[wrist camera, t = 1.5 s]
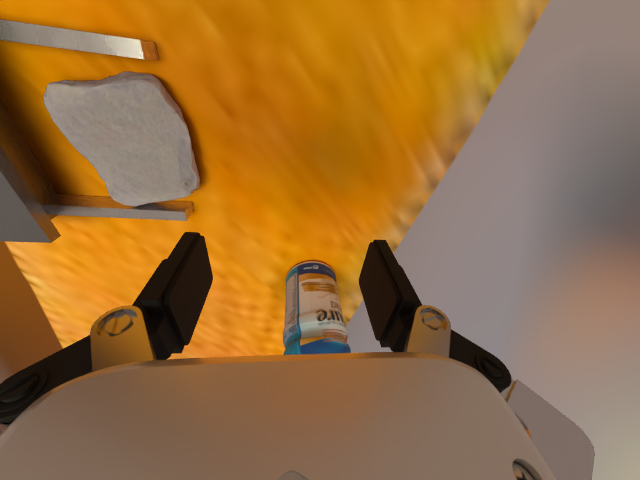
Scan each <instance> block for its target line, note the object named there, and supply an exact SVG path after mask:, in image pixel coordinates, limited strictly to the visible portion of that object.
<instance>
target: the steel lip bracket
mask: <svg viewBox="0 0 640 480" xmlns="http://www.w3.org/2000/svg"><path fill="white" fill-rule="evenodd" d="M0 40H5V41H12V42H20V43H27V44H35V45H42V46H49V47H57V48H64V49H71V50H79V51H86V52H94V53H101V54H108V55H116V56H123V57H131V58H138V59H147V60H159V58H158V54H157V49H156V45H155V42H150V41H144V40H138V39H131V38H124V37H117V36H110V35H103V34H96V33H90V32H83V31H76V30H69V29H62V28H55V27H49V26H42V25H35V24H28V23H21V22H14V21H7V20H1V19H0ZM193 211H194V208H193V204H192V202H186V201H169V200H168V201H160V202H153V203H146V204H144V205H138V206H129V205H124V204H121V203H119V202H117V201H115V200H113V198H112V197H99V196H81V195H64V194H57V193H56V191H55V189H54V188H53V186H52V184H51V183H50V181H49V179H48V178H47V176H46V174H45V173H44V171H43V169H42V168H41V166H40V164H39V163H38V161H37V159H36V158H35V156H34V154H33V153H32V151H31V149H30V148H29V146H28V144H27V143H26V141H25V139H24V138H23V136H22V134H21V133H20V131H19V129H18V128H17V126H16V124H15V123H14V121H13V119H12V118H11V116H10V114H9V113H8V111H7V109H6V108H5V106H4V104H3V103H2V101H1V99H0V241H13V242H45V243H52V242H53V241H54V240H56V239H57V238H58V237H60V236H61V235H60V234H59V232H58V231H57V229H56V228H55V226H54V225H53V223H52V222H51V219H52V218H54V217H55V216H57V215H72V216H94V217H115V218H137V219H159V220H180V221H187V220H188V218H189V217H190V215H191V214H192V212H193Z"/></svg>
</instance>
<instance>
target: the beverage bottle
mask: <svg viewBox="0 0 640 480" xmlns="http://www.w3.org/2000/svg"><path fill="white" fill-rule="evenodd" d="M347 338H348V333H347V326H346V324H345V322H344V320H343V315H342V311H341V306H340V301H339V296H338V291H337V284H336V277H335V273H334V271H333V270H332V269H331V268H330V267H329V266H328V265H326V264H324V263H322V262H317V261H307V262H303V263H300V264H298V265H296V266H294V267H293V268H292V269H291V270H290V271H289V273H288V274H287V277H286V303H285V326H284V331H283V343H284V346H285V348H286V350H285V352H284V355H298V354H332V353H351V352H350V347H349V345H348V344H347V343H346V342H347Z"/></svg>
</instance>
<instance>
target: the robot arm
mask: <svg viewBox="0 0 640 480" xmlns="http://www.w3.org/2000/svg"><path fill="white" fill-rule="evenodd" d="M212 280H213V275H212V271H211V266H210V261H209V257H208V252H207V248H206V243H205V238H204V236H200V234H199V233H197V232H185V233H184V234H183V236H182V237H181V239H180V240H179V242H178V243H177V245H176V246H175V248H174V249H173V251H172V252H171V254H170V255H169V257H168V259H164V260H163V261H162V262H161V263H160V265H159V266H158V268H157V269H156V271H155V272H154V274H153V275H152V277H151V278H150V280H149V281H148V283H147V284H146V286H145V287H144V289H143V290H142V291H141V293H140V294H139V296H138V297H137V299H136V300H135V302H134V303H133V305H132V306H130V305H129V306H121V307H117V308H114V309H112V310H110V311H108V312H106V313H105V314H103V315H102V316H100V317H99V318H98V319H97V320H96V321H95V322H94V324H93V325H92V327H91V331H90V335H89V336H87V337H85V338H83V339H81V340H79V341H77V342H76V343H74V344H72V345H70V346H68V347H66V348H64V349H62V350H60V351H58V352H56V353H54V354H52V355H50V356H48V357H47V358H44V359H43V360H41V361H39V362H37V363H35V364H33V365H31V366H29V367H27V368H25V369H23V370H21V371H19V372H17V373H16V374H14V375H13V376H11V377H9V378H7V379H6V380H5V381H3V382H2V383H1V384H0V480H592V472H593V464H594V456H595V454H594V447H593V445H592V444H591V441H590V440H589V438H588V437H587V436H586V435H585V433H584V432H583V431H582V430H581V429H580V428H579V427H578V426H577V425H576V424H575V423H574V422H573V421H571V420H570V419H569V418H567V417H566V416H565V415H563V414H562V413H561V412H559V411H558V410H557V409H555V408H554V407H553V406H552V405H550V404H549V403H548V402H546V401H545V400H544V399H543V398H541V397H540V396H539V395H537V394H536V393H535V392H533V391H532V390H531V389H530V388H528V387H527V386H526V385H524V384H523V383H522V382H521V381H519V380H518V379H517V380H516V381H514V380H513V379H512V378H511V375H510V373H509V370H508V369H507V368H506V366H505V365H504V364H503V363H502V362H501V361H500V360H499V359H498V358H497V357H495V356H494V355H492V354H491V353H489V352H487V351H486V350H484V349H482V348H481V347H479V346H477V345H476V344H474V343H472V342H471V341H469V340H468V339H466V338H464V337H463V336H461V335H460V334H458V333H456V332H455V331H453V330H451V324H450V321H449V319H448V318H447V316H446V315H445V314H444V313H443V312H442V311H441V310H439V309H437V308H435V307H433V306H430V305H422V304H421V302H420V300H419V298H418V296H417V294H416V293H415V291H414V289H413V287H412V285H411V283H410V281H409V279H408V278H407V276H406V274H405V272H404V270H403V268H402V267H401V266H400V265H399V264H398V262H397V260H396V259H395V257H394V255H393V253H392V251H391V249H390V247H389V245H388V243H387V242H386V240H374V241H373V242H371V243H370V244H369V247H368V251H367V254H366V257H365V261H364V264H363V267H362V270H361V274H360V277H359V285H360V289H361V292H362V295H363V299H364V302H365V305H366V308H367V312H368V315H369V318H370V322H371V325H372V328H373V331H374V335H375V338H376V340H377V341H378V340H379V341H380V344H381V347H390V349H391V350H392V351H393V352H371V353H332V354H298V355H267V356H239V357H211V358H188V359H169V360H166V359H168V358H169V357H170V356H171V354H172V353H182V351H183V348H184V345H188V344H189V342H190V340H191V337H192V335H193V332H194V329H195V327H196V324H197V321H198V319H199V316H200V313H201V311H202V308H203V305H204V303H205V300H206V297H207V295H208V292H209V289H210V287H211V284H212Z"/></svg>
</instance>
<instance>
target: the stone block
mask: <svg viewBox="0 0 640 480" xmlns="http://www.w3.org/2000/svg"><path fill="white" fill-rule="evenodd" d="M43 99H44V104H45V106H46V108H47V110H48V111H49V113H50V115H51V117H52V120H53V121H54V123H55V124H56V125H57V127H58V128H59V129H60V131H61V132H62V133H63V134H64V135H65V136H66V138H67V139H68V141H69V142H70V143H71V144H72V145H73V146H74V147H75V148H76V149H77V150H78V151H79V152H80V153H81V154H82V155H83V156H84V157H85V158H86V159H87V160H88V161H89V162H90V163H91V164H92V165H93V166H94V167H95V169H96V170H97V171H98V173H99V175H100V177H101V178H102V179H103V180H104V181H105V184H106V187H107V190H108V193H109V195H110V196H111V197H112V198H113V200H115V201H117V202H119V203H121V204H124V205H129V206H138V205H144V204H146V203H153V202H160V201H168V200H173V199H179V198H184V197H186V196H189V195H190V194H192V193H193V191H194V190H196V189H198V188H199V187H200V178H199V174H198V169H197V166H196V163H195V158H194V153H193V150H192V145H191V139H190V136H189V132H188V128H187V125H186V123H185V121H184V120H183V115H182V111H181V109H180V108H179V106H178V105H177V104H176V102H175V101H174V100H173V99H172V97H171V96H170V94H169V93H168V92H167V90H166V89H165V87H164V86H163V85H162V83H161V82H160V80H159V79H158V78H156V77H155V76H154V75H152V74H147V73H134V72H122V73H119V74H117V75H115V76H109V77H108V78H105V79H103V80H91V81H69V80H65V81H59V82H51V83H49V84H48V86H47V88H46V92H45V94H44V95H43Z"/></svg>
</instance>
